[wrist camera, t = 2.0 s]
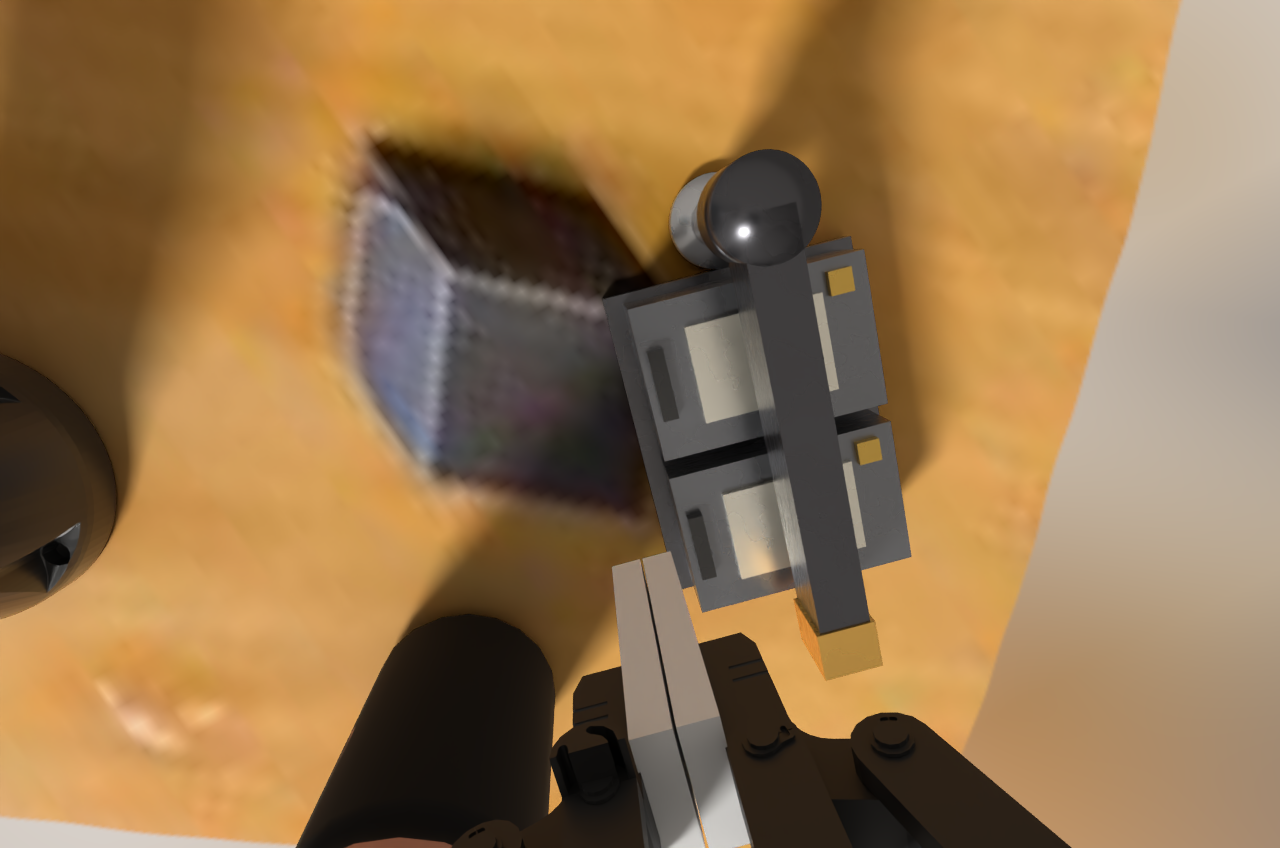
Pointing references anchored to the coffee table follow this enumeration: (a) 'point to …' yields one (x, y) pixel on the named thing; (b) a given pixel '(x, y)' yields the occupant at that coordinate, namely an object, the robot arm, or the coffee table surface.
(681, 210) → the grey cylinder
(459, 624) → the coffee jar
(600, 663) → the coffee table surface
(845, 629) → the swing arm
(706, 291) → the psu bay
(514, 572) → the coffee table surface
